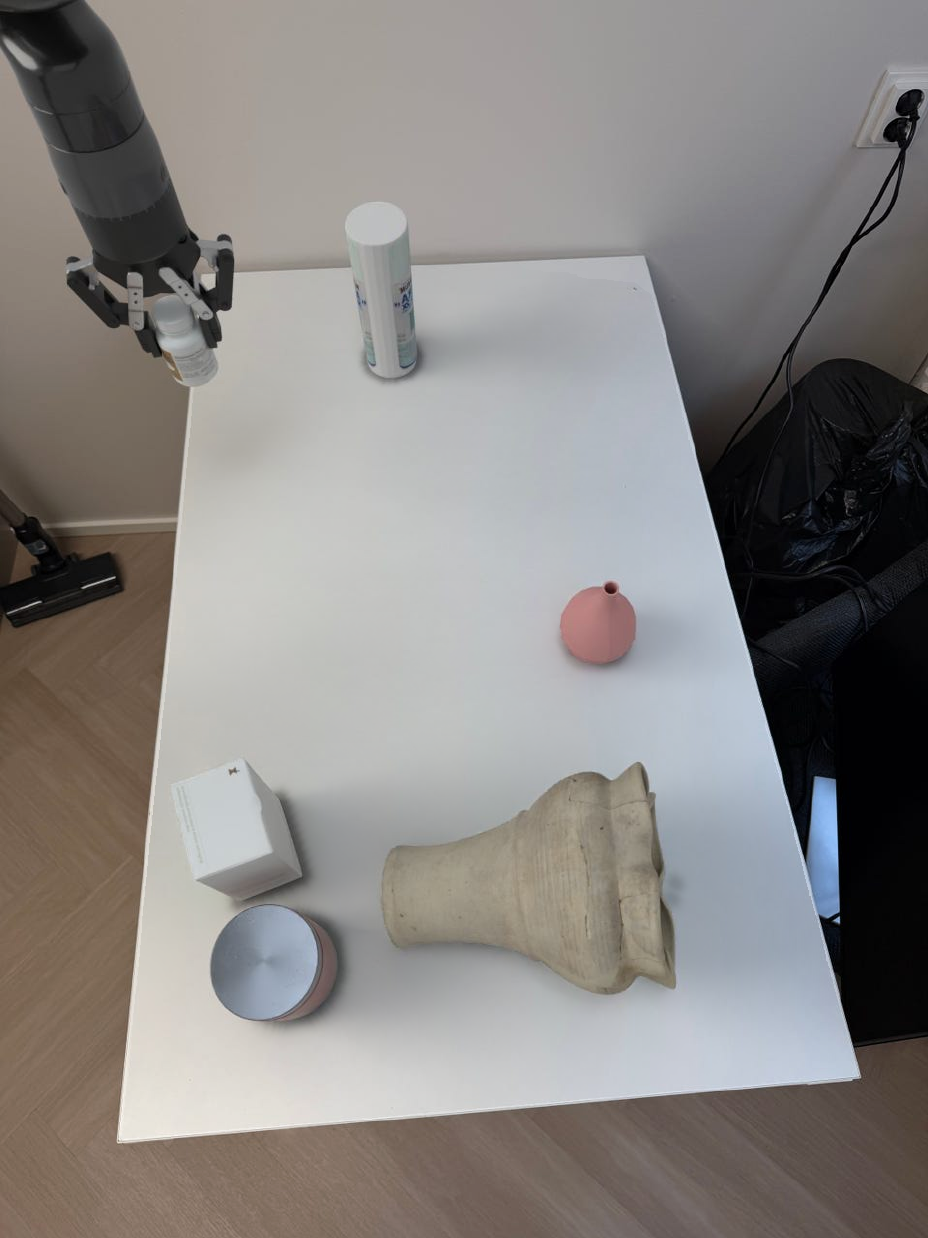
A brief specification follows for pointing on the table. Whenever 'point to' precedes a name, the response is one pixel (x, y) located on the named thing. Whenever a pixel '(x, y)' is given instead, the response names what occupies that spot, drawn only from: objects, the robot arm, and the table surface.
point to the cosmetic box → (235, 831)
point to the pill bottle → (183, 342)
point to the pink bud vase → (598, 624)
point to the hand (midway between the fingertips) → (185, 345)
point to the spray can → (383, 286)
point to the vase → (549, 886)
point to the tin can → (273, 964)
